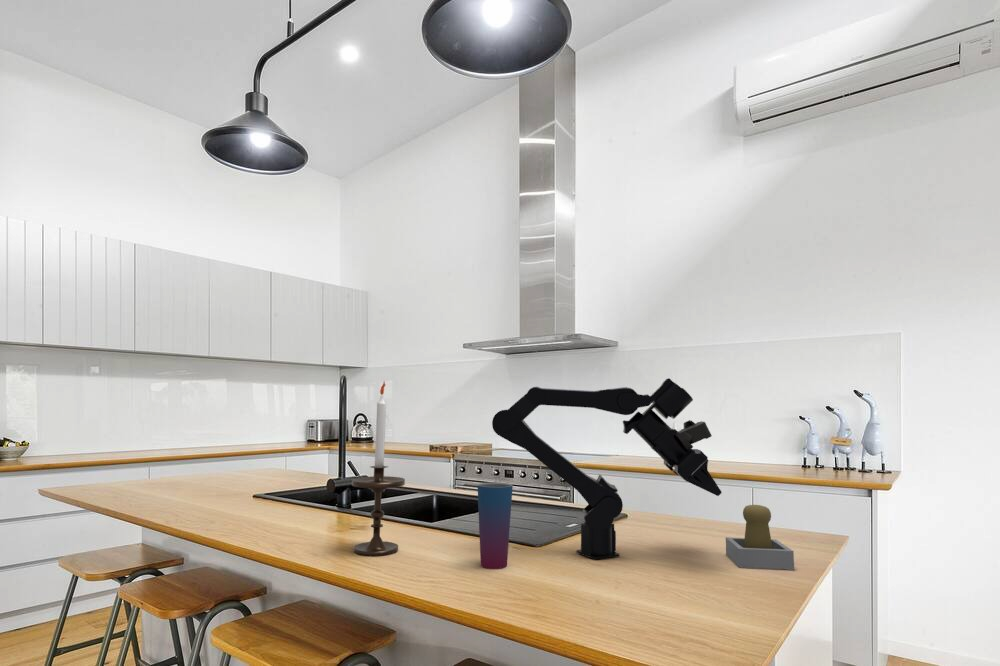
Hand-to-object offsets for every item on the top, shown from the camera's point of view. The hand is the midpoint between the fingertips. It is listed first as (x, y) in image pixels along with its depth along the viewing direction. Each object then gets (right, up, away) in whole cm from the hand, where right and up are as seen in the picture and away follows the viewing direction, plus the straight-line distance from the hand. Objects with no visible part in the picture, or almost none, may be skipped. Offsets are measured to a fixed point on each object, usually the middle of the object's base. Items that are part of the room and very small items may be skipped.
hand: (714, 490), depth 121 cm
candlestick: (-69, -13, +2) cm, 70 cm away
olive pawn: (+8, -14, -3) cm, 16 cm away
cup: (-45, -12, -8) cm, 47 cm away
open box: (+8, -13, -3) cm, 16 cm away
